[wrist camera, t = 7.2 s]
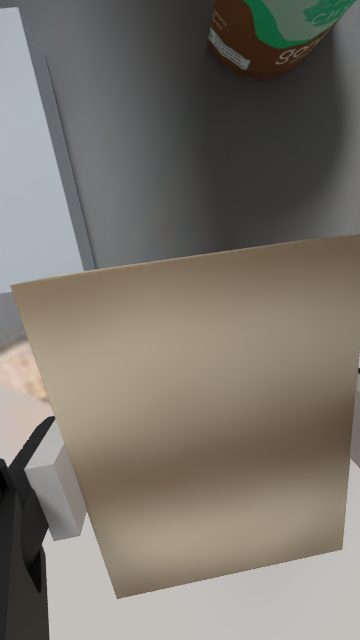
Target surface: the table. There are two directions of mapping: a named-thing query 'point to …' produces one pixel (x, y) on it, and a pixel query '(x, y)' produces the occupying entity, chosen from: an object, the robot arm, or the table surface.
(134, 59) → the table surface
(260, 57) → the food container
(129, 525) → the gold metallic plate
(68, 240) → the light gray rectangular block
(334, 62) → the table surface
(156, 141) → the table surface
